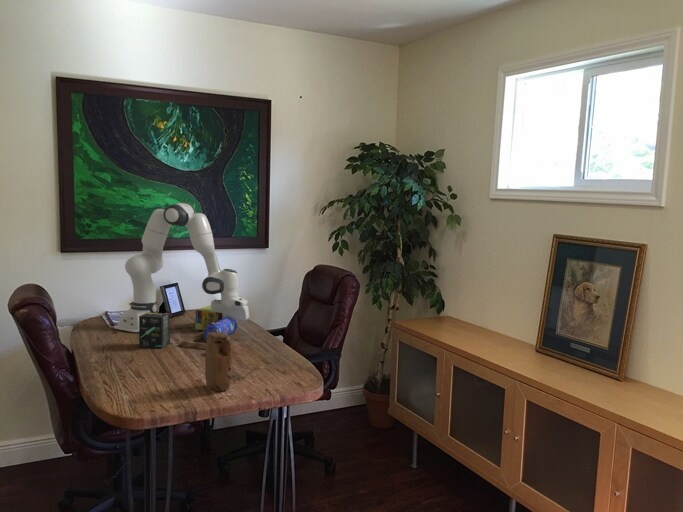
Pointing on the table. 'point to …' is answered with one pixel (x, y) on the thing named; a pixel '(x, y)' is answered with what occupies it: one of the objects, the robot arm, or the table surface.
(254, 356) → the table surface
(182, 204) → the robot arm
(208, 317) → the protein box
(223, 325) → the pencil case
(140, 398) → the table surface
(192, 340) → the frame
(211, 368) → the block
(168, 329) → the tampon box
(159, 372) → the table surface
